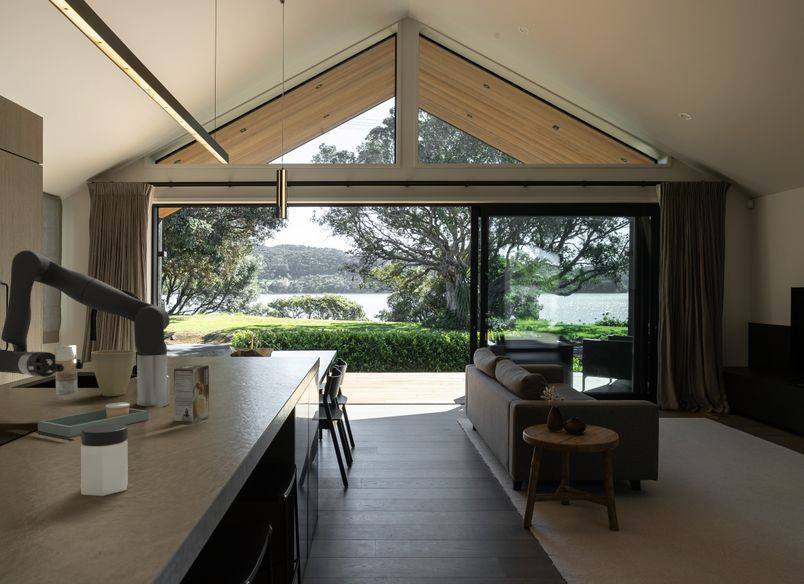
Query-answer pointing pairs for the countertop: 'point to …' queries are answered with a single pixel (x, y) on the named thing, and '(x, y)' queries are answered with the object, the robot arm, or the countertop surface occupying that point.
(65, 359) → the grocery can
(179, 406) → the coffee box
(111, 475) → the jar
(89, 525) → the countertop surface
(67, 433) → the tray
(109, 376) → the plant pot
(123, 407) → the small lidded tub
